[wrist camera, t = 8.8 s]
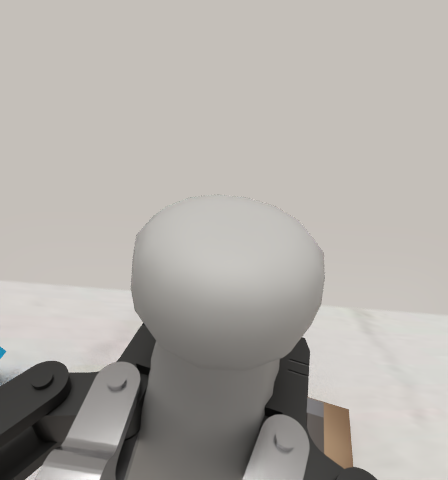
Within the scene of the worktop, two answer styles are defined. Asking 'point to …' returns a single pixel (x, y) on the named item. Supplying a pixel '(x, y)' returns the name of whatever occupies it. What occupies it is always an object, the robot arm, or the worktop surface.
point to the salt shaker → (217, 328)
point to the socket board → (330, 431)
